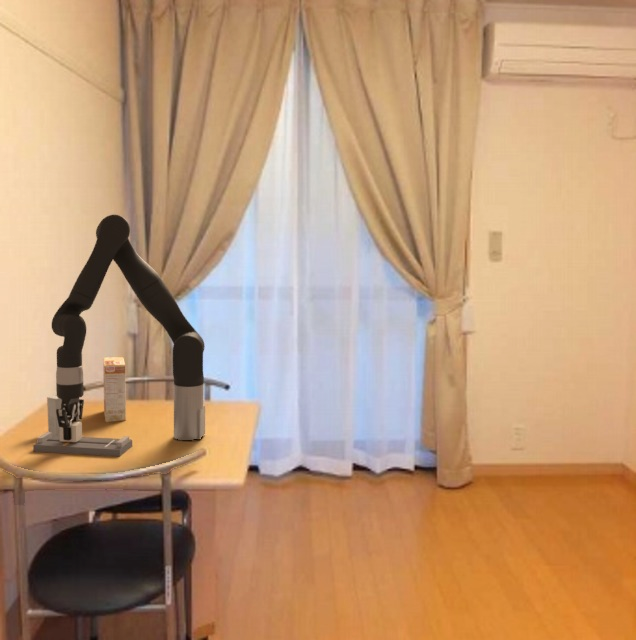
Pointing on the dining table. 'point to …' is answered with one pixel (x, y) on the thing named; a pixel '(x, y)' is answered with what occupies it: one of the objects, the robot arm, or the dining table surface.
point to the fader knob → (73, 432)
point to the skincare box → (53, 414)
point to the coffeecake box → (114, 389)
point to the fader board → (83, 445)
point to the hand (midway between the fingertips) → (71, 437)
